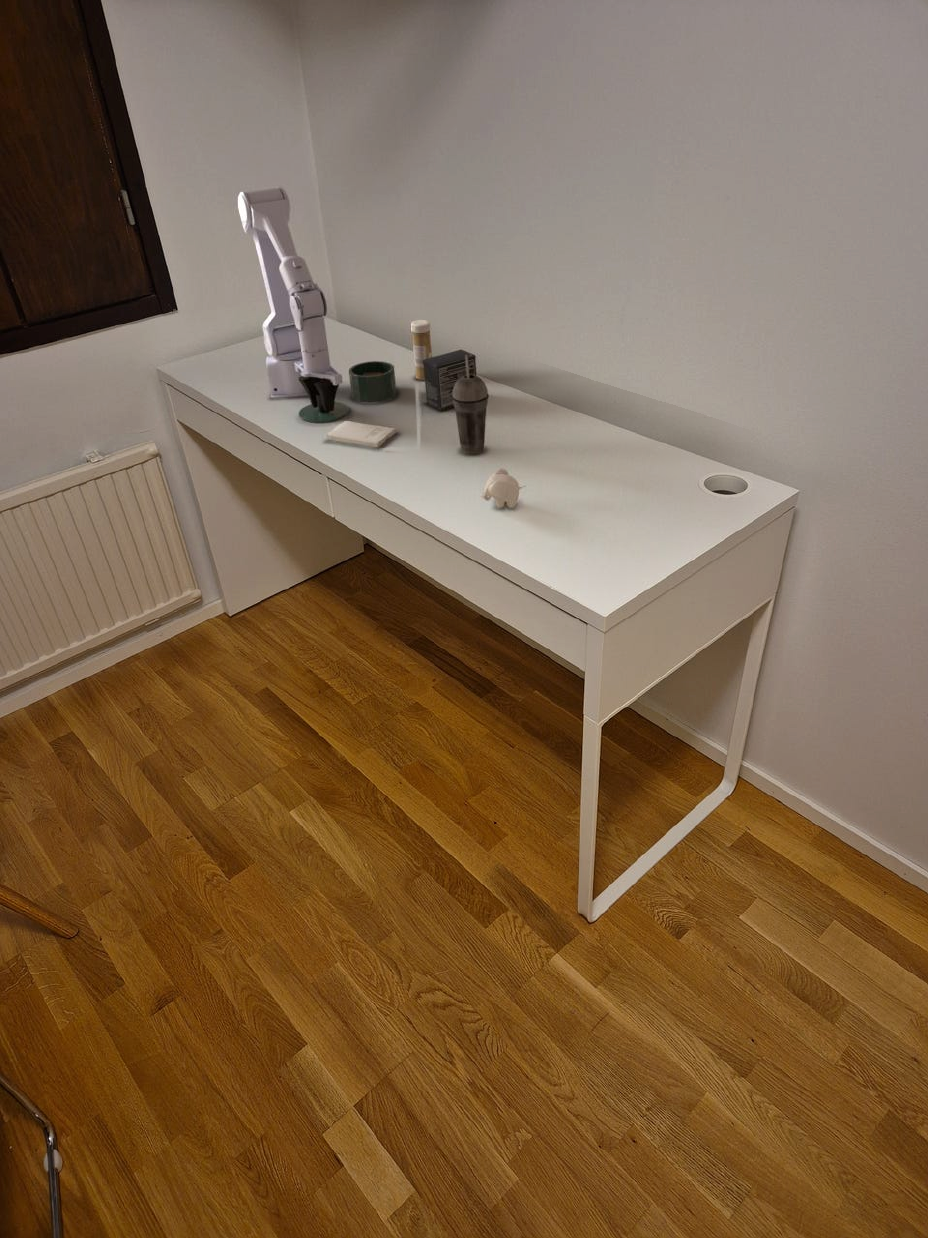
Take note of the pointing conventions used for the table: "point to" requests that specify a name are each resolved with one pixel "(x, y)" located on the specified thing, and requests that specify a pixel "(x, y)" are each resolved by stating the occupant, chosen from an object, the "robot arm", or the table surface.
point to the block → (372, 374)
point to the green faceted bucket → (372, 381)
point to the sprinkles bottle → (421, 345)
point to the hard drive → (360, 434)
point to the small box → (445, 376)
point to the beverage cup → (470, 411)
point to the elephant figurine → (502, 489)
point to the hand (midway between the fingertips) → (323, 408)
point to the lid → (323, 412)
